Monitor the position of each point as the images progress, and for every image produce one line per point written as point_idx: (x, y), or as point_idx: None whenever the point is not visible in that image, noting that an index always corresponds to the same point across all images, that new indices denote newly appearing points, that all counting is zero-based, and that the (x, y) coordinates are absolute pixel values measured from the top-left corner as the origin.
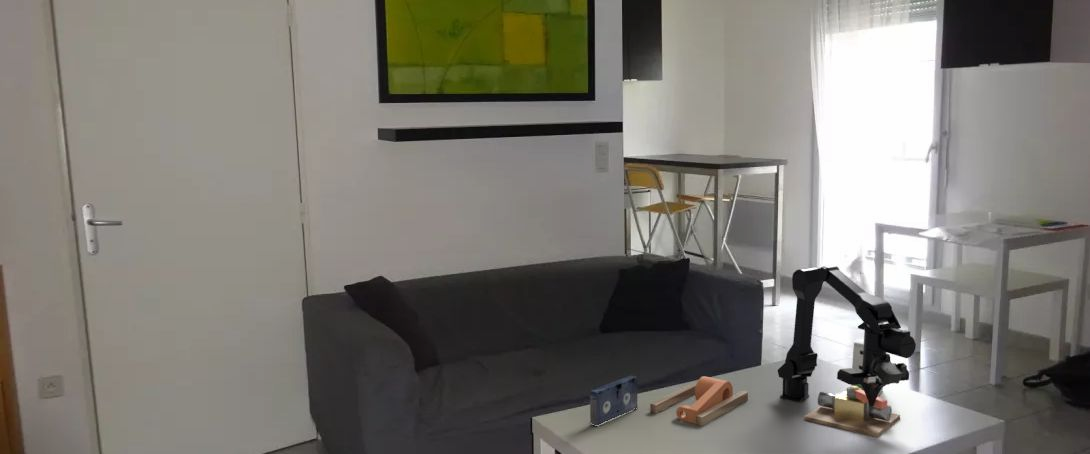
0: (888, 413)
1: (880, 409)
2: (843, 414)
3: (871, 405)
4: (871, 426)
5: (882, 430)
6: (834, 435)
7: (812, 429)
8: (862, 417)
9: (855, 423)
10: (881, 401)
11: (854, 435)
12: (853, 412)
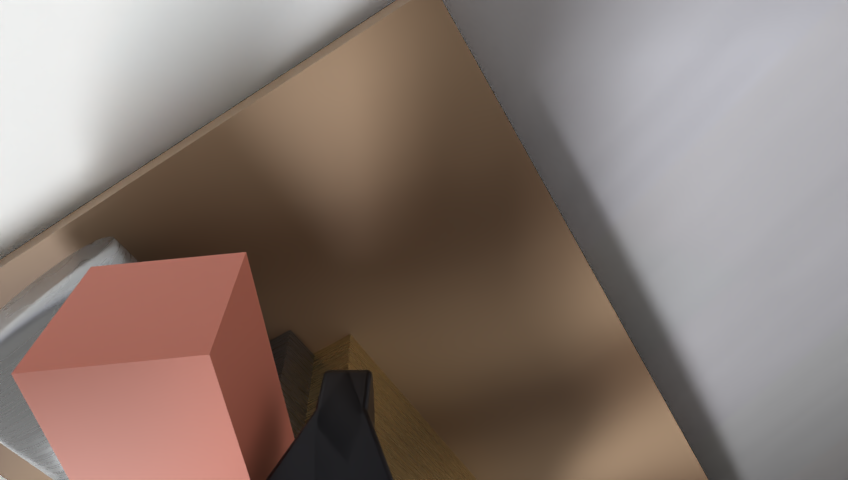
0: (38, 304)
1: None
2: (457, 475)
3: (371, 381)
4: (352, 206)
5: (286, 79)
6: (807, 187)
7: (843, 351)
8: (354, 369)
9: (460, 317)
10: (200, 360)
11: (630, 122)
12: (410, 455)
